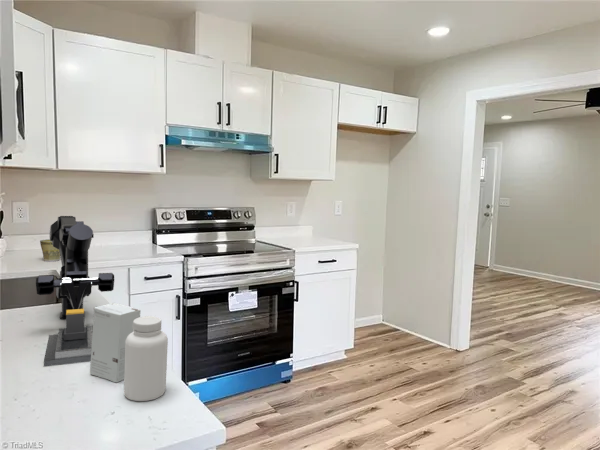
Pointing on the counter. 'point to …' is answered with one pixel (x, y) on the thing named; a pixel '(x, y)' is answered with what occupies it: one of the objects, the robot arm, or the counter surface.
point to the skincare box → (111, 339)
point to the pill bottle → (145, 360)
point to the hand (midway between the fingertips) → (76, 310)
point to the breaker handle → (75, 325)
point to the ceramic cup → (49, 251)
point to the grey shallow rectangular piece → (68, 349)
